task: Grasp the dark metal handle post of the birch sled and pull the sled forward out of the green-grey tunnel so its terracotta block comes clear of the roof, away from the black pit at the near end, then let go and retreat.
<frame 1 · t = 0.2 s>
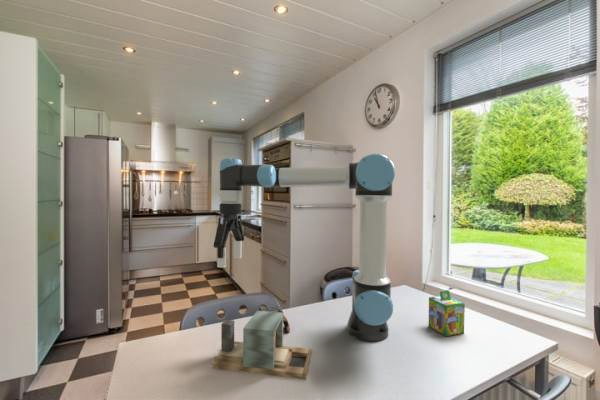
hand: (230, 262, 100), 27 cm above the table, fingers open, 13 cm apart
tunnel deck: (264, 360, 87), on the table
sled: (254, 339, 88), point 6 cm above the table, slide at 0.0 cm
pottery mug: (277, 330, 107), on the table
chalk box: (445, 330, 109), on the table
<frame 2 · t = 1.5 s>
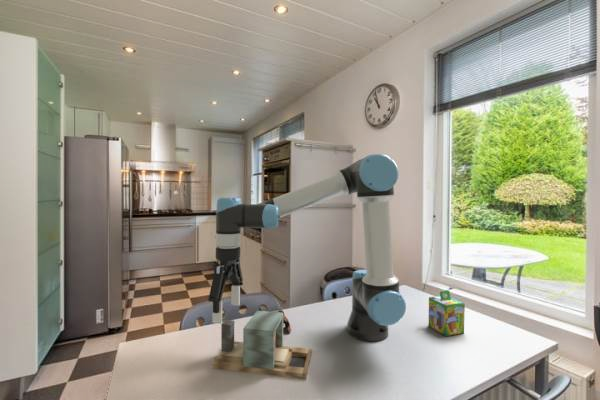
hand: (226, 313, 89), 14 cm above the table, fingers open, 13 cm apart
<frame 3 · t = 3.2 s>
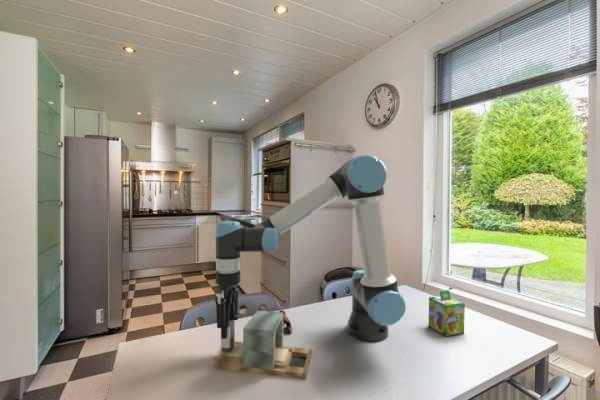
hand: (227, 343, 89), 4 cm above the table, fingers closed on sled, 3 cm apart
sled: (254, 339, 88), point 6 cm above the table, slide at 0.0 cm, touching gripper
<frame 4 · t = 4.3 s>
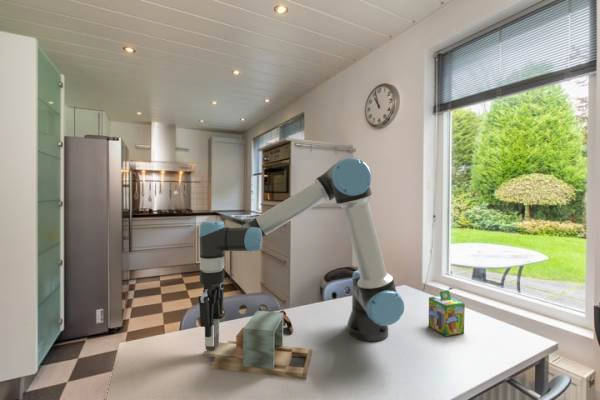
hand: (212, 342, 90), 4 cm above the table, fingers closed on sled, 3 cm apart
sled: (238, 337, 89), point 6 cm above the table, slide at 5.3 cm, touching gripper
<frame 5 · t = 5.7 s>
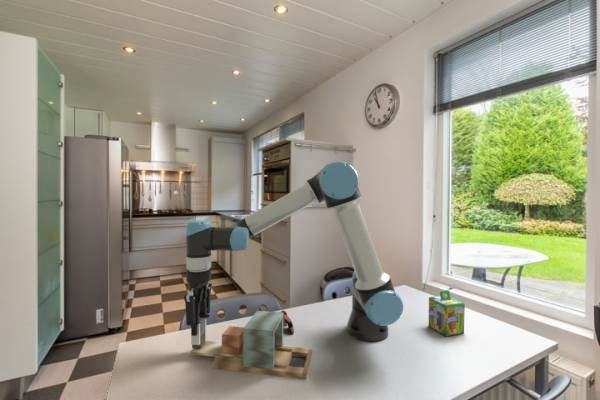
hand: (198, 341, 91), 4 cm above the table, fingers closed on sled, 3 cm apart
sled: (224, 336, 89), point 6 cm above the table, slide at 10.0 cm, touching gripper
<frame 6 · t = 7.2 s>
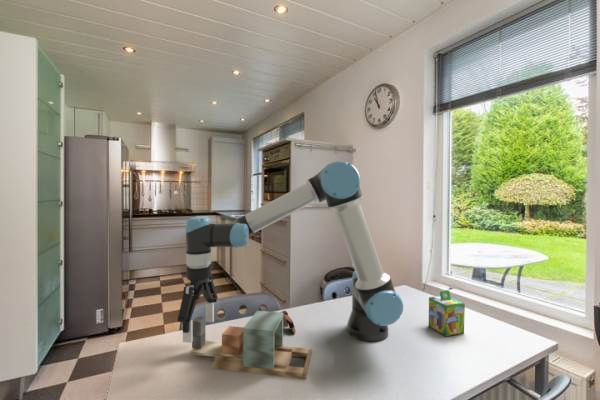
hand: (199, 331, 91), 7 cm above the table, fingers open, 13 cm apart
sled: (224, 336, 89), point 6 cm above the table, slide at 10.0 cm
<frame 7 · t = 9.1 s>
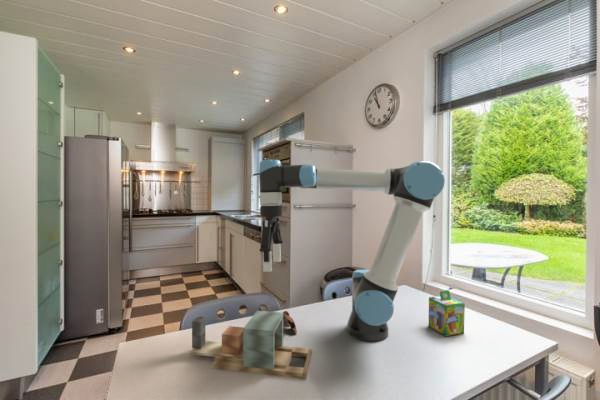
hand: (272, 266, 98), 27 cm above the table, fingers open, 13 cm apart
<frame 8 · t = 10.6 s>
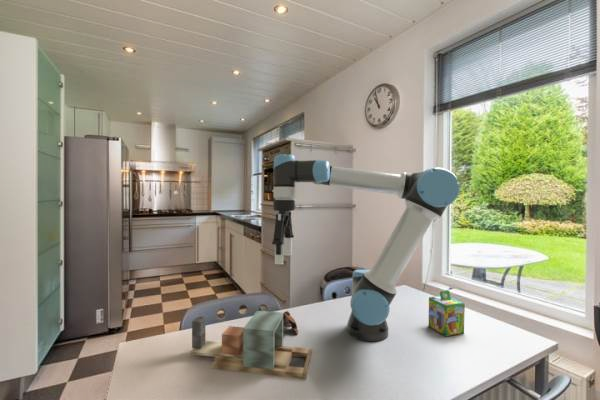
hand: (283, 259, 99), 29 cm above the table, fingers open, 13 cm apart
at the end: sled slide at 10.0 cm; the gripper is holding nothing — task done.
